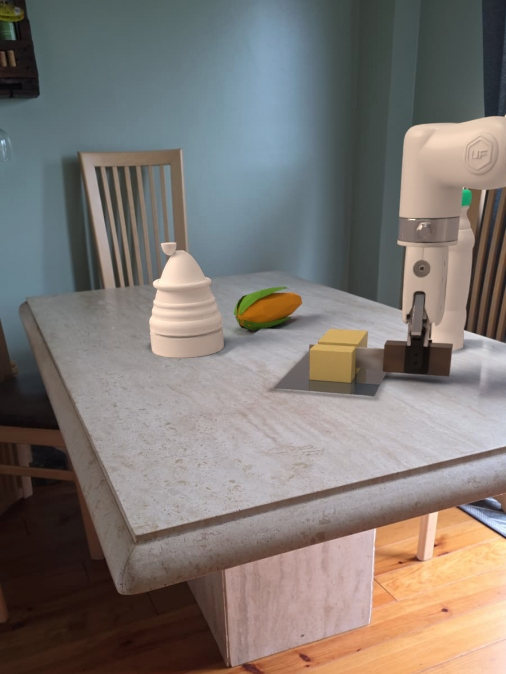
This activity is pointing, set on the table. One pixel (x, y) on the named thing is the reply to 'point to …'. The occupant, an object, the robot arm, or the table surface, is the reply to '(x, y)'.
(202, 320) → the honey pot
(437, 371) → the knife
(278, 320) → the corn
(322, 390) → the butter dish
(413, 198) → the robot arm
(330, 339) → the butter block
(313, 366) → the block
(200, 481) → the table surface
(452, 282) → the water bottle
